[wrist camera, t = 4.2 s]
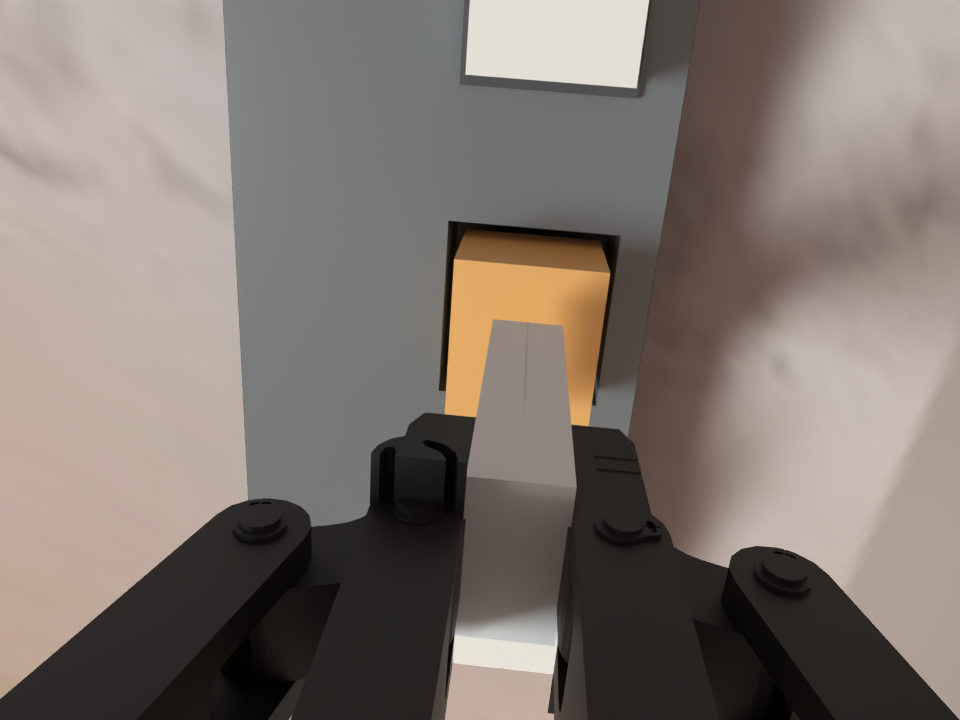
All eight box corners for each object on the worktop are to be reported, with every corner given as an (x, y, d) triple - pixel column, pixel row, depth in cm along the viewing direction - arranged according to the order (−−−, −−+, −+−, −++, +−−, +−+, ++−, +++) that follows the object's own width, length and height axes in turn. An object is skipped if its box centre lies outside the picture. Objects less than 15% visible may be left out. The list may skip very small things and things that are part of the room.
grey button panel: (271, -199, 20) (161, -299, 14) (698, -170, 19) (765, -262, 14) (291, 562, 29) (230, 689, 23) (582, 593, 28) (592, 730, 23)
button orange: (466, 228, 21) (453, 258, 18) (600, 240, 20) (610, 273, 18) (457, 365, 22) (444, 414, 19) (581, 377, 22) (588, 428, 19)
